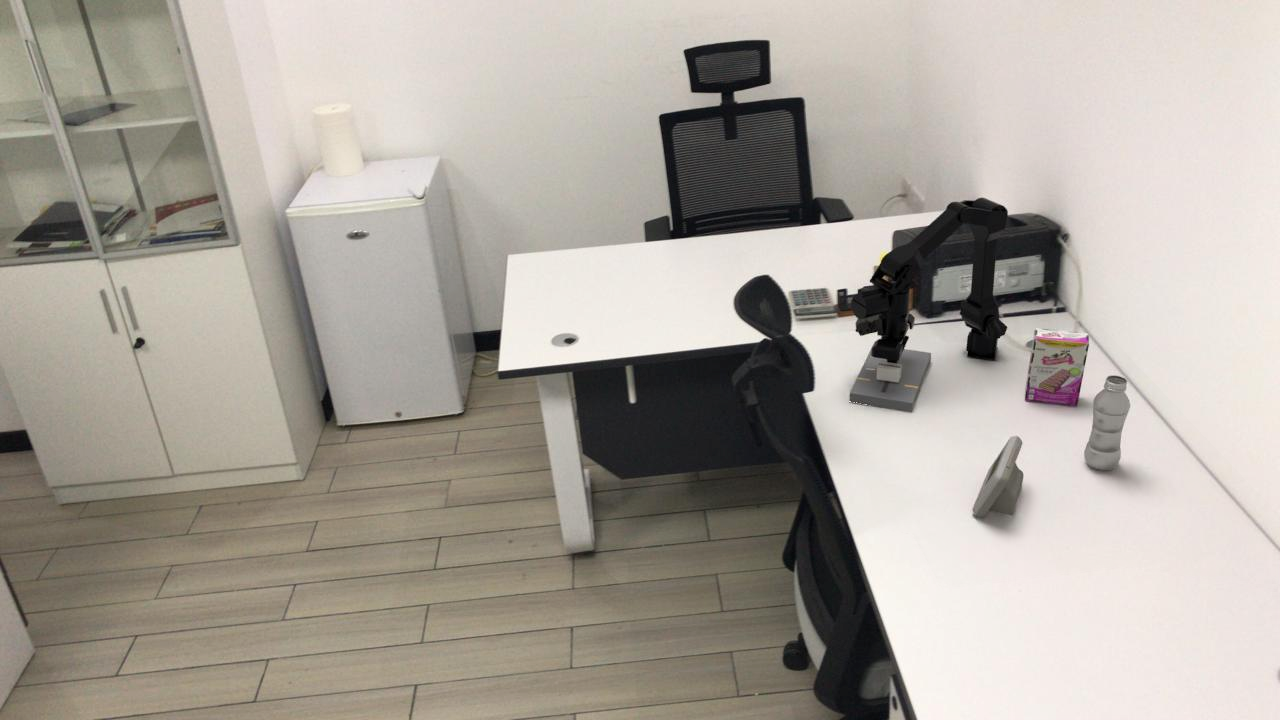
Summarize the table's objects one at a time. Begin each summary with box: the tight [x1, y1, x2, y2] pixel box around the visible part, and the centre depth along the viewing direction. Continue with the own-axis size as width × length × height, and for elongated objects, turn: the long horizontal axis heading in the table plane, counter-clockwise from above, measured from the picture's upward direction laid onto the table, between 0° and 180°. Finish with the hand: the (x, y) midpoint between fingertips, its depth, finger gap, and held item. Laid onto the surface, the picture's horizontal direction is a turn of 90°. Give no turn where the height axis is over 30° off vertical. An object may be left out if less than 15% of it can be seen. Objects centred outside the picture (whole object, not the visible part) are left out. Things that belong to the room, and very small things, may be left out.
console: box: [848, 345, 932, 413], centre depth 234 cm, size 14×24×2 cm, turn 156°
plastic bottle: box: [1083, 374, 1131, 471], centre depth 197 cm, size 6×7×20 cm
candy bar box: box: [1024, 327, 1090, 407], centre depth 220 cm, size 11×5×16 cm, turn 71°
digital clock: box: [972, 435, 1024, 518], centre depth 192 cm, size 16×9×11 cm, turn 139°
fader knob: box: [877, 361, 902, 383], centre depth 230 cm, size 5×3×3 cm, turn 66°
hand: (891, 367), depth 233 cm, fingers closed
